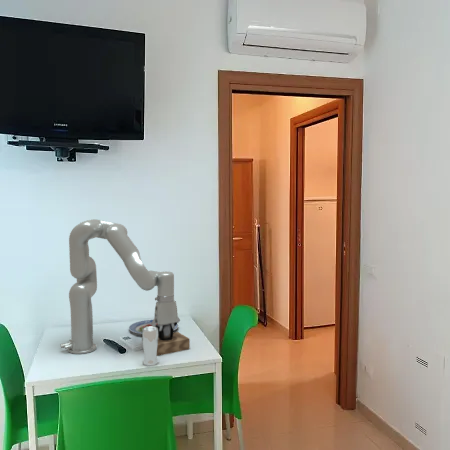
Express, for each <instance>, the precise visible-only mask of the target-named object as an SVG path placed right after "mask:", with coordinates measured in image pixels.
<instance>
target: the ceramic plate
mask: <svg viewBox="0 0 450 450" xmlns="http://www.w3.org/2000/svg"><path fill="white" fill-rule="evenodd" d="M153 320H154V319H144V320H140V321H136V322H134V323H132V324H130V325H129V327H128V330H129V331H130V332H133V333H135V334H138V335H142V329H143V328H144V327H149V326H152V325H151V323H152V321H153ZM155 324H156V325H158V324H157V323H155ZM153 327H154V326H153ZM178 328H179V323H177V325H176V326H175V328H174V331H176V330H177V329H178Z"/></svg>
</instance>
